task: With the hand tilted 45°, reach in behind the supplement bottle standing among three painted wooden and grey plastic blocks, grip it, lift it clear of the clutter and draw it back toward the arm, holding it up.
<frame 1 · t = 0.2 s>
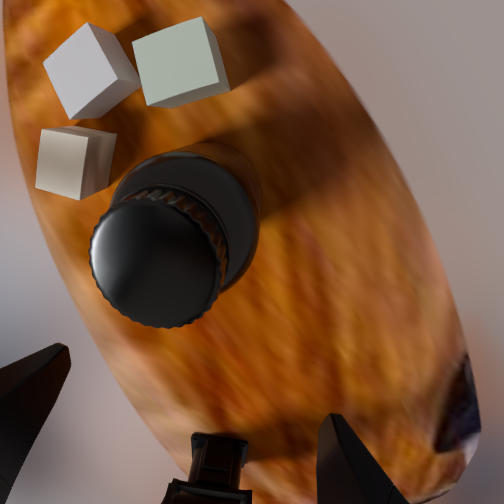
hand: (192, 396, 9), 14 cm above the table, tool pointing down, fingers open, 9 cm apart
sage block: (193, 72, 18), on the table
grey plastic block: (107, 75, 18), on the table
birch block: (90, 155, 20), on the table
supplement bottle: (212, 191, 21), on the table
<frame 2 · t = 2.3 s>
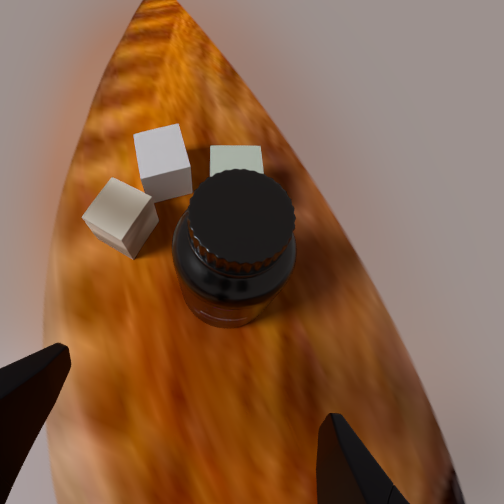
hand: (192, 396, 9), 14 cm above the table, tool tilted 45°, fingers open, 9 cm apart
sage block: (232, 195, 28), on the table
grey plastic block: (165, 177, 28), on the table
birch block: (127, 229, 25), on the table
supplement bottle: (226, 287, 25), on the table
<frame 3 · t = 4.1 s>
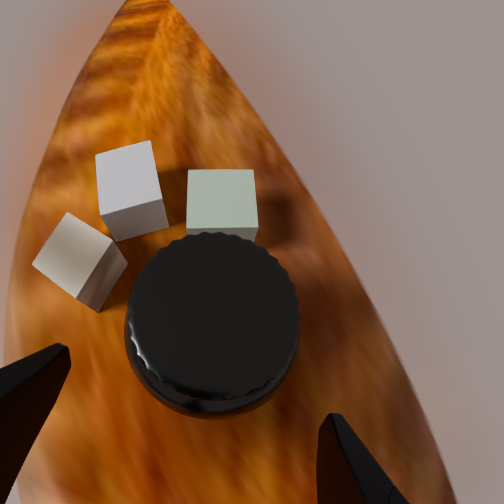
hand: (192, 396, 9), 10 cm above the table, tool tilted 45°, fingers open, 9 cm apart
sage block: (219, 230, 22), on the table
grey plastic block: (137, 206, 22), on the table
birch block: (91, 274, 20), on the table
supplement bottle: (210, 349, 19), on the table
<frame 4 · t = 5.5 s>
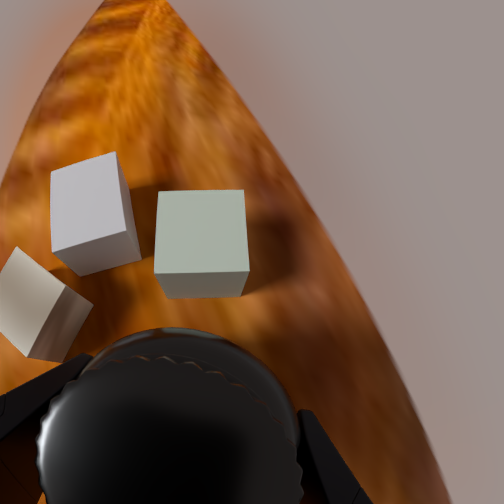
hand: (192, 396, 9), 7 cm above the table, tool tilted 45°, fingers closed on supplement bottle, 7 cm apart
sage block: (202, 263, 18), on the table
grey plastic block: (104, 231, 18), on the table
birch block: (53, 315, 16), on the table
supplement bottle: (193, 411, 15), on the table, touching gripper
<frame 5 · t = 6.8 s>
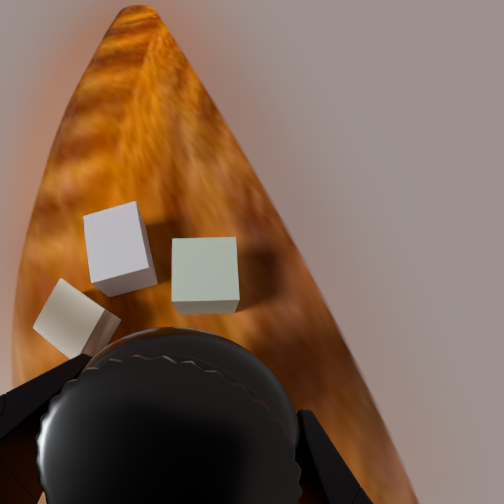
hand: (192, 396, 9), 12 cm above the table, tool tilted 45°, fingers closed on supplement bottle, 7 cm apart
sage block: (205, 287, 23), on the table
grey plastic block: (127, 260, 23), on the table
birch block: (88, 328, 21), on the table
supplement bottle: (194, 410, 15), point 6 cm above the table, touching gripper
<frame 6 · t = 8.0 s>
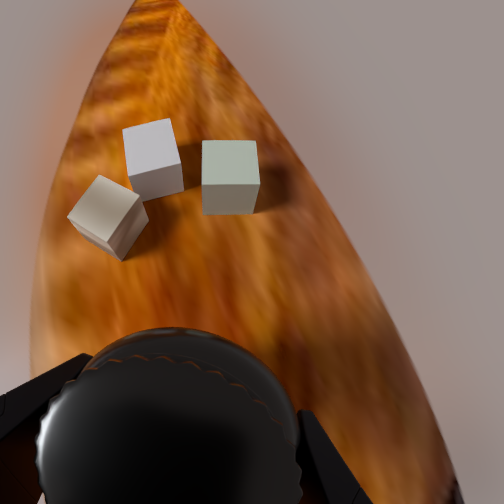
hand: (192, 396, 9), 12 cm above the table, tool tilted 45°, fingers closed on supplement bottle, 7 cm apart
sage block: (226, 193, 26), on the table
grey plastic block: (156, 174, 26), on the table
birch block: (116, 230, 24), on the table
supplement bottle: (194, 411, 15), point 5 cm above the table, touching gripper
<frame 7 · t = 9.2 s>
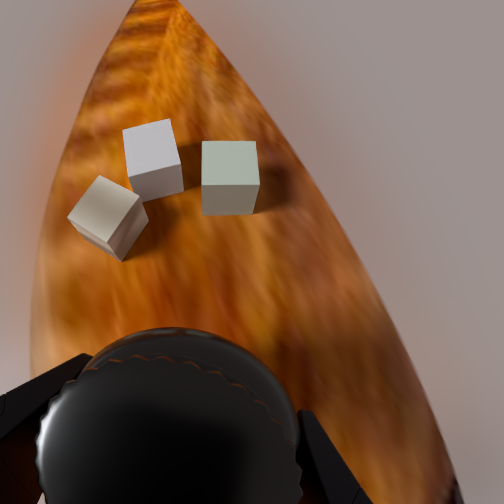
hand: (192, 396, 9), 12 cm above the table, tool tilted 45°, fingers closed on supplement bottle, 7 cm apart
sage block: (226, 194, 26), on the table
grey plastic block: (156, 174, 26), on the table
birch block: (116, 230, 24), on the table
supplement bottle: (194, 411, 15), point 6 cm above the table, touching gripper
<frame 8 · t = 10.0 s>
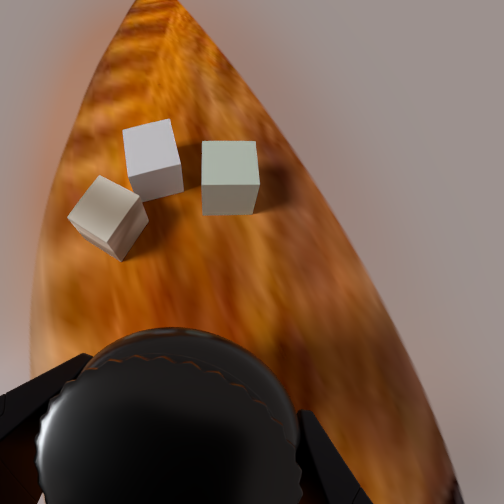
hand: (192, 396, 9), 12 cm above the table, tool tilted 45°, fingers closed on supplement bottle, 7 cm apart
sage block: (226, 194, 26), on the table
grey plastic block: (156, 174, 26), on the table
birch block: (116, 230, 24), on the table
supplement bottle: (194, 411, 15), point 6 cm above the table, touching gripper
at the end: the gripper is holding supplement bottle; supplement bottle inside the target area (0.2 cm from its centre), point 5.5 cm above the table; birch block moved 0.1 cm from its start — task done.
